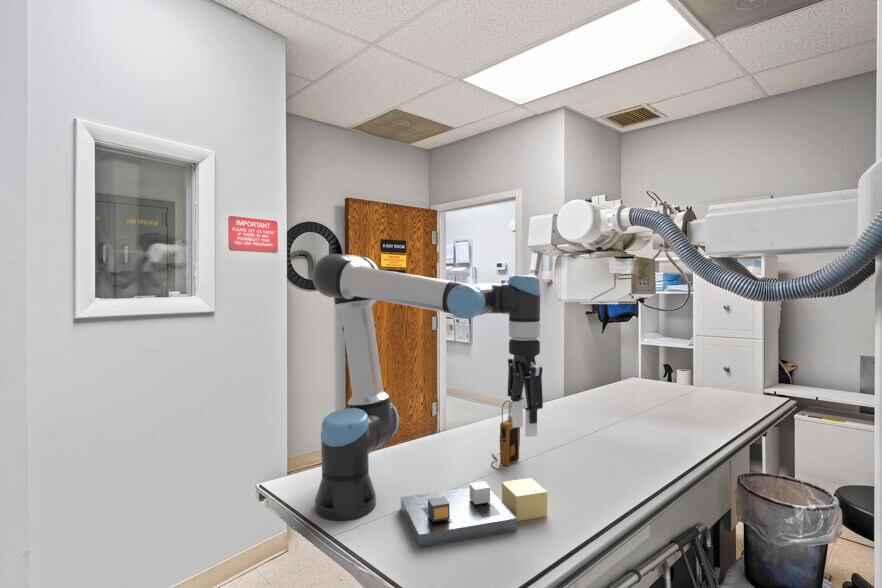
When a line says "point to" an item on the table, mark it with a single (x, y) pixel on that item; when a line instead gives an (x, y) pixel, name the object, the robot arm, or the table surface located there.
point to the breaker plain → (479, 492)
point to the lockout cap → (524, 498)
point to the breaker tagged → (438, 509)
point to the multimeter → (508, 441)
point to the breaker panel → (456, 518)
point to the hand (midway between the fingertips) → (524, 430)
